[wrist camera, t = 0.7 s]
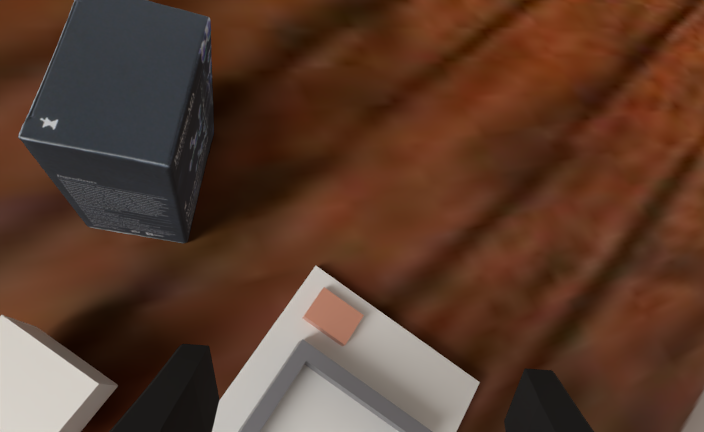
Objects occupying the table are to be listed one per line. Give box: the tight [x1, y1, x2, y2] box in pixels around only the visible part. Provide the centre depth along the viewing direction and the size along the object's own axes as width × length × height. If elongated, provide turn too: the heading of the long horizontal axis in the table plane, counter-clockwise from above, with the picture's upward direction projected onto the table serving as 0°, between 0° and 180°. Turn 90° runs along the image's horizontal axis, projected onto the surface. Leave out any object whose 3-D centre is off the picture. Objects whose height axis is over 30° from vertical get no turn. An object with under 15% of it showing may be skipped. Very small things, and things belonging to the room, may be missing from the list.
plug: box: [0, 315, 119, 432], centre depth 22 cm, size 4×5×5 cm
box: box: [18, 0, 214, 243], centre depth 24 cm, size 8×6×11 cm
